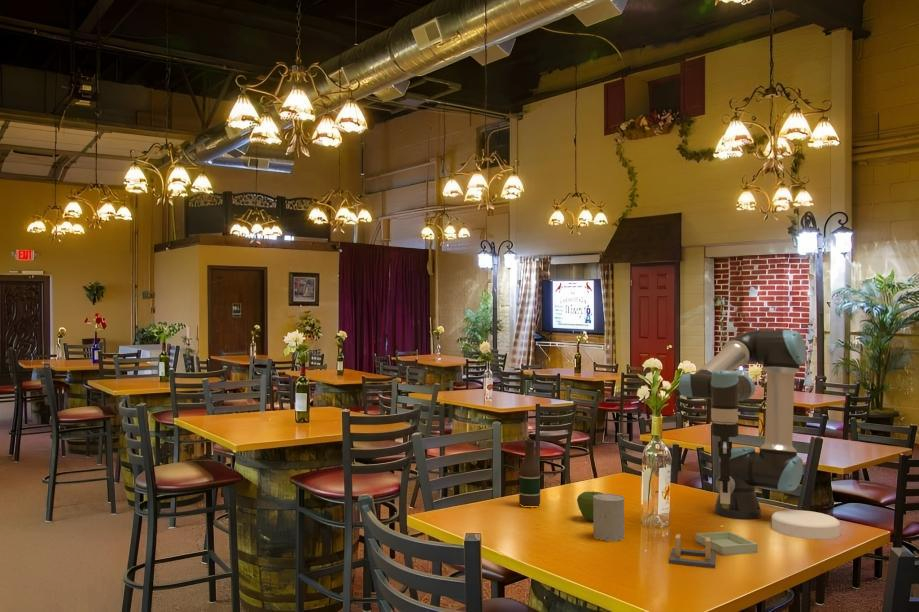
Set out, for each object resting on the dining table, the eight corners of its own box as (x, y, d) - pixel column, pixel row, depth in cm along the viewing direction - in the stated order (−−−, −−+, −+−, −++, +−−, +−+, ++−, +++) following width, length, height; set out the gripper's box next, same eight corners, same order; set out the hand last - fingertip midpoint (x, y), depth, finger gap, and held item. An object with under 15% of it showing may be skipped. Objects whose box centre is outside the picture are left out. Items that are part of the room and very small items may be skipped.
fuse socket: (668, 563, 201) (668, 541, 202) (672, 551, 213) (672, 530, 213) (715, 568, 197) (714, 545, 197) (716, 555, 208) (715, 534, 209)
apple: (613, 518, 249) (613, 489, 250) (604, 525, 240) (604, 495, 240) (582, 514, 254) (582, 485, 255) (572, 521, 245) (572, 491, 245)
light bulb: (736, 511, 214) (736, 476, 214) (717, 510, 215) (716, 476, 215) (733, 507, 219) (733, 473, 219) (714, 506, 220) (714, 472, 220)
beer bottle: (517, 503, 270) (517, 438, 271) (537, 503, 271) (537, 438, 272) (521, 508, 263) (521, 441, 263) (542, 508, 263) (542, 441, 264)
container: (844, 543, 222) (844, 527, 223) (773, 536, 229) (773, 521, 229) (835, 526, 241) (835, 512, 241) (770, 521, 248) (769, 507, 248)
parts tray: (695, 542, 222) (695, 533, 222) (729, 539, 225) (729, 531, 225) (722, 555, 209) (722, 546, 209) (757, 552, 211) (757, 543, 212)
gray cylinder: (601, 531, 233) (600, 492, 234) (629, 536, 228) (629, 496, 228) (587, 538, 226) (587, 497, 226) (617, 543, 220) (616, 502, 220)
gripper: (738, 426, 208) (739, 509, 207) (738, 419, 225) (738, 496, 224) (710, 425, 211) (711, 506, 210) (712, 418, 228) (712, 493, 227)
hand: (725, 501), depth 217 cm, fingers closed on light bulb, 5 cm apart
